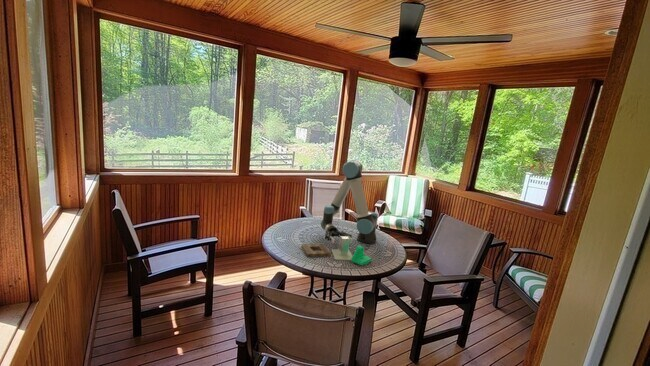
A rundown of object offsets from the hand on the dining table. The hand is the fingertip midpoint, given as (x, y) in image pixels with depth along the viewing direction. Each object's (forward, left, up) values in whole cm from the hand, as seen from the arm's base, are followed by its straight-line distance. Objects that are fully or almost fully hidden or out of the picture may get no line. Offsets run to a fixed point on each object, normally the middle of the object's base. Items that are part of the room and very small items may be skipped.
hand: (342, 241), depth 205 cm
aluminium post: (0, +2, -8) cm, 9 cm away
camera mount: (-11, +11, -9) cm, 19 cm away
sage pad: (-1, +2, -9) cm, 9 cm away
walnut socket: (+17, -2, -9) cm, 20 cm away
